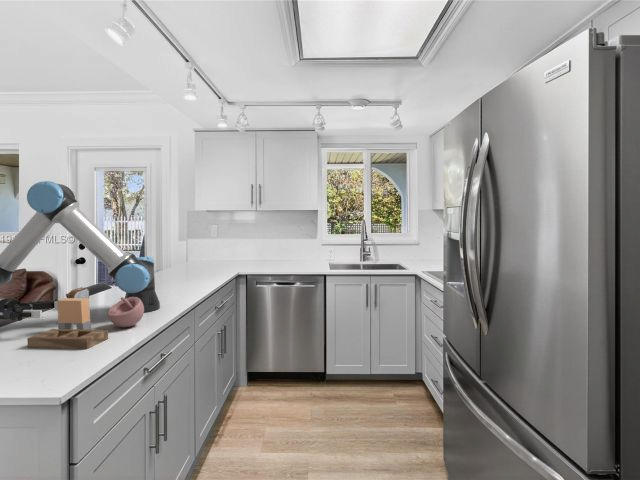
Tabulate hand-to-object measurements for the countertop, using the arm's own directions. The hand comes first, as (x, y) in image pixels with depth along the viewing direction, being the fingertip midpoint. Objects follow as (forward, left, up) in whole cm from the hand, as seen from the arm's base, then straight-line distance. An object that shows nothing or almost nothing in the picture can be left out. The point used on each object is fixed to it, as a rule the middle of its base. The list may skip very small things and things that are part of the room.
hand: (56, 309), depth 138 cm
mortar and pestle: (-23, +3, -8) cm, 24 cm away
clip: (-6, +2, -8) cm, 10 cm away
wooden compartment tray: (-8, +17, -8) cm, 21 cm away
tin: (+3, -43, -8) cm, 43 cm away
